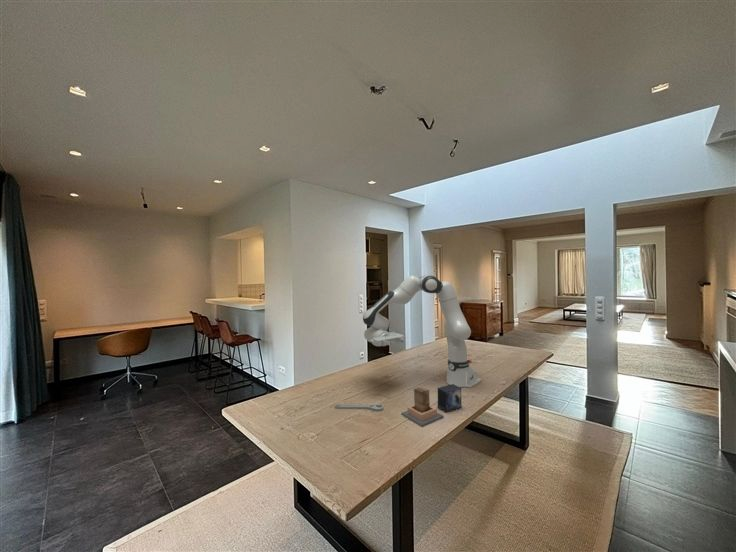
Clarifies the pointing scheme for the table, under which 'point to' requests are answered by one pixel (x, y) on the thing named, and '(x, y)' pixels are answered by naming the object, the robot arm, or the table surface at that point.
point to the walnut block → (421, 399)
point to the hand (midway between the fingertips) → (397, 342)
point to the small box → (449, 398)
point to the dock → (422, 415)
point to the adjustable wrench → (361, 407)
